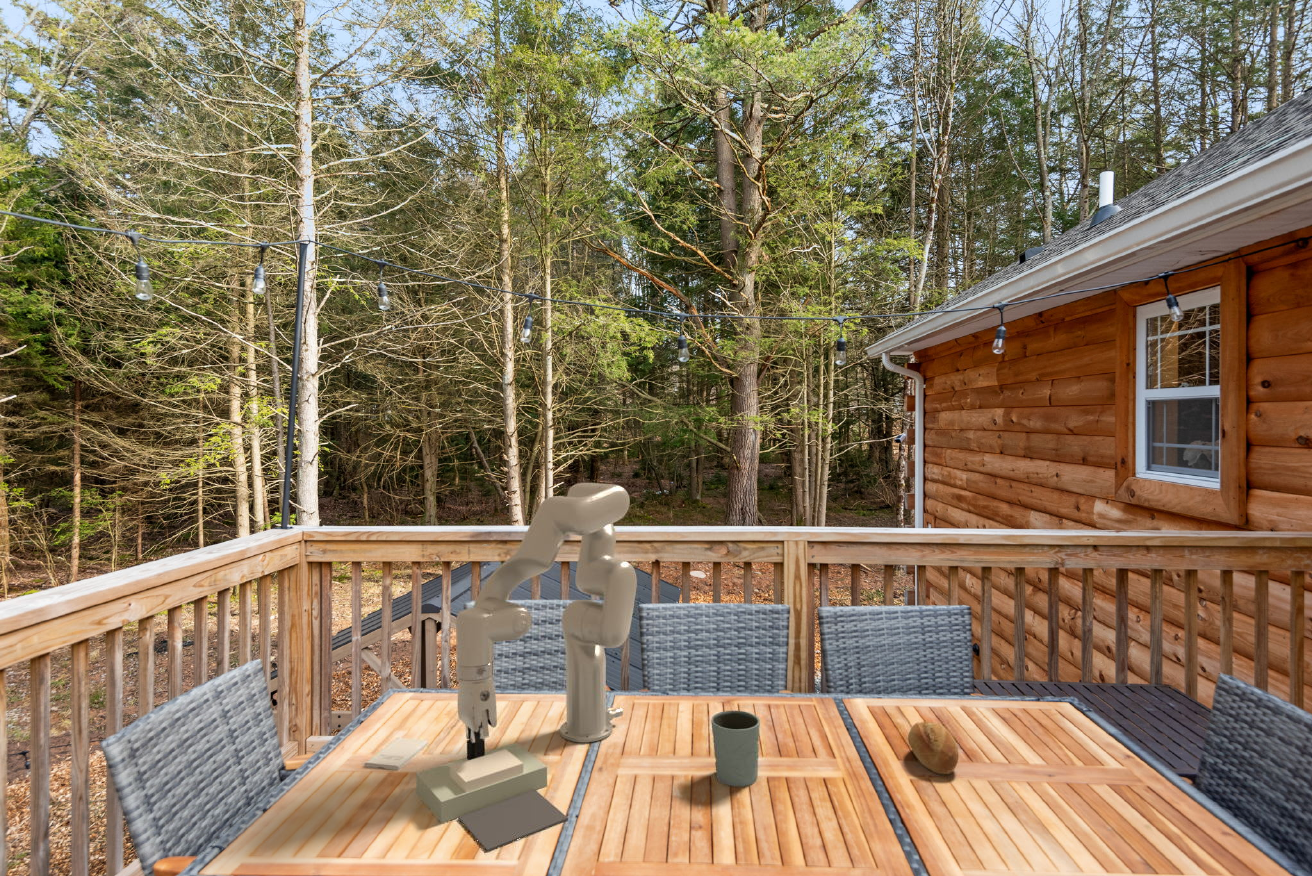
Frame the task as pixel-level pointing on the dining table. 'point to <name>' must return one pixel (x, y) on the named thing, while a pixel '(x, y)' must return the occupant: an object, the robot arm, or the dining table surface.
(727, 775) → the grey green cup
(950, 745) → the bread roll
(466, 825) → the mat
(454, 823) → the dining table surface
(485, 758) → the cream flat block
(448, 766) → the sage green block
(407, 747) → the external hard drive
